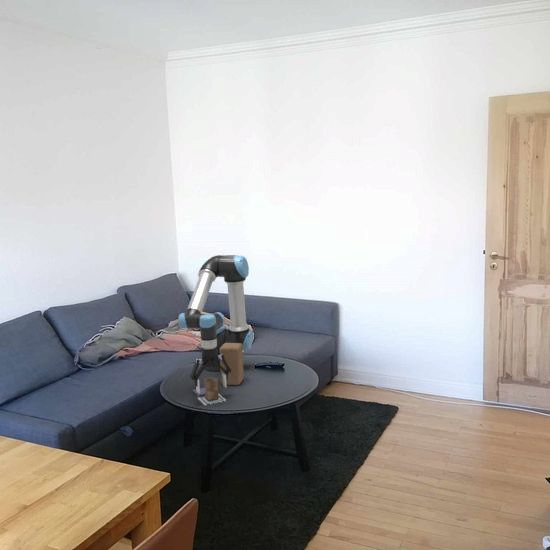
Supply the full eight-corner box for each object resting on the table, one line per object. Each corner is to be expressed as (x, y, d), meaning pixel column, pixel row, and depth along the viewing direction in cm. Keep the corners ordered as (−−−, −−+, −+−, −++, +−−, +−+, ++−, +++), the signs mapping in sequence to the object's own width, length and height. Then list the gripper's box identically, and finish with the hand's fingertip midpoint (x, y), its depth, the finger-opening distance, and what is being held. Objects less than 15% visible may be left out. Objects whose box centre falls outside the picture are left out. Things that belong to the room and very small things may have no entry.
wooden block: (239, 385, 296) (237, 348, 293) (220, 385, 298) (218, 347, 295) (244, 379, 306) (242, 342, 303) (226, 378, 308) (224, 342, 305)
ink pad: (209, 388, 294) (209, 386, 294) (216, 394, 286) (216, 391, 286) (193, 391, 290) (192, 389, 290) (198, 397, 282) (198, 395, 282)
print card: (218, 394, 286) (218, 393, 286) (226, 400, 277) (226, 399, 277) (197, 398, 281) (197, 397, 281) (204, 405, 272) (204, 404, 272)
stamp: (214, 396, 282) (213, 376, 280) (218, 399, 278) (217, 379, 276) (205, 398, 280) (204, 378, 278) (208, 401, 275) (207, 381, 274)
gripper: (186, 353, 266) (189, 397, 270) (236, 344, 276) (238, 386, 280) (181, 349, 272) (184, 391, 276) (230, 340, 283) (232, 381, 287)
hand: (211, 389), depth 278 cm, fingers open, 13 cm apart
